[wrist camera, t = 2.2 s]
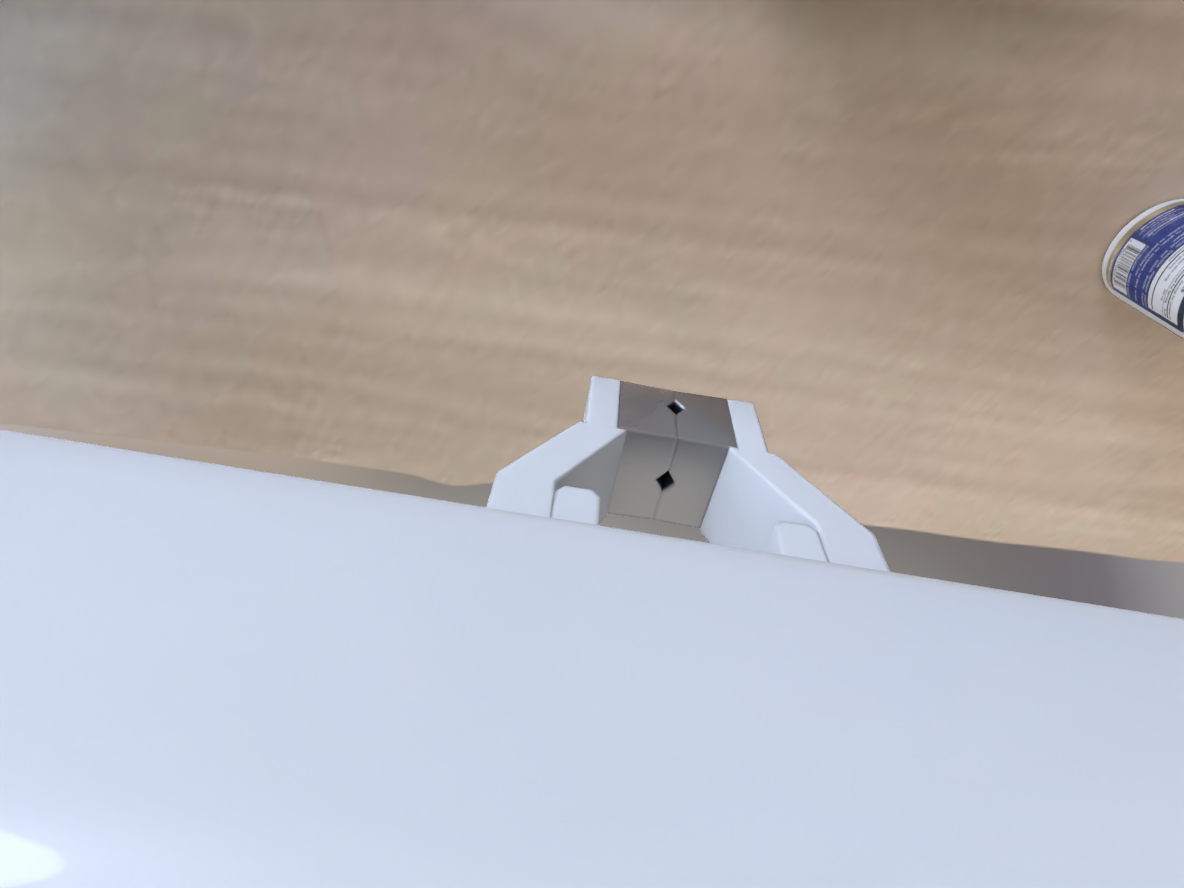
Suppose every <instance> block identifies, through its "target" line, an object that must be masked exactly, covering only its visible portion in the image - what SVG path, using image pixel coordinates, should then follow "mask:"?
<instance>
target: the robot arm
mask: <svg viewBox="0 0 1184 888" xmlns="http://www.w3.org/2000/svg"><path fill="white" fill-rule="evenodd" d="M607 513H608V514H615V515H623V516H630V517H638V518H645V519H654V520H658V521H663V522H669V523H674V524H679V525H685V526H690V527H695V528H700V529H699V531H700V532H701V533H702V535H703V536H704V537H705V539H706V540H707V541H708V543H706V542H700V541H693V540H687V539H681V538H675V537H668V536H662V535H656V534H650V533H643V532H637V531H630V530H625V529H618V528H612V527H606V526H599V524H600V522H601V521H602V520H603V519H604V518H605V517H606V516H607ZM0 888H1184V619H1180V618H1174V617H1168V616H1162V615H1155V614H1149V613H1143V612H1136V611H1131V610H1124V609H1118V608H1112V607H1105V606H1099V605H1093V604H1087V603H1081V602H1074V601H1068V600H1062V599H1056V598H1049V597H1043V596H1037V595H1031V594H1024V593H1018V592H1012V591H1005V590H1000V589H993V588H987V587H981V586H974V585H968V584H962V583H956V582H949V581H943V580H937V579H931V578H924V577H918V576H912V575H905V574H900V573H893V572H890V570H889V567H888V565H887V563H886V560H885V558H884V556H883V553H882V551H881V549H880V547H879V545H878V542H877V540H876V537H875V535H874V534H873V533H871V532H870V531H869V530H868V529H867V528H866V527H864V526H863V525H862V524H861V523H859V522H858V521H857V520H856V519H855V518H853V517H852V516H851V515H850V514H848V513H847V512H846V511H845V510H843V509H842V508H841V507H840V506H839V505H837V504H836V503H835V502H834V501H832V500H831V499H830V498H829V497H828V496H826V495H825V494H824V493H823V492H821V491H820V490H819V489H818V488H817V487H815V486H814V485H813V484H812V483H810V482H809V481H808V480H807V479H805V478H804V477H803V476H802V475H801V474H799V473H798V472H797V471H796V470H794V469H793V468H792V467H791V466H790V465H788V464H787V463H786V462H785V461H783V460H782V459H781V458H780V457H779V456H777V455H774V454H769V453H768V449H767V446H766V443H765V439H764V436H763V432H762V429H761V426H760V422H759V419H758V416H757V412H756V409H755V405H754V404H752V403H751V402H744V401H736V400H728V399H723V398H716V397H710V396H703V395H696V394H689V393H682V392H676V391H672V390H666V389H661V388H656V387H651V386H645V385H640V384H635V383H630V382H624V381H619V380H616V379H610V378H603V377H596V376H592V378H591V383H590V388H589V394H588V399H587V404H586V409H585V415H584V420H583V422H578V423H576V424H574V425H573V426H571V427H570V428H568V429H566V430H565V431H563V432H561V433H560V434H558V435H557V436H555V437H553V438H552V439H550V440H549V441H547V442H545V443H544V444H542V445H540V446H539V447H537V448H536V449H534V450H532V451H531V452H529V453H527V454H526V455H524V456H523V457H521V458H519V459H518V460H516V461H515V462H513V463H511V464H510V465H508V466H506V467H505V468H503V469H502V470H500V471H498V472H497V473H496V477H495V480H494V483H493V487H492V490H491V494H490V497H489V500H488V503H487V507H481V506H475V505H468V504H462V503H456V502H450V501H443V500H437V499H431V498H424V497H418V496H412V495H406V494H400V493H393V492H386V491H381V490H375V489H368V488H361V487H356V486H350V485H343V484H337V483H331V482H325V481H318V480H312V479H306V478H299V477H293V476H287V475H281V474H275V473H268V472H262V471H256V470H250V469H244V468H237V467H231V466H224V465H219V464H212V463H206V462H200V461H194V460H187V459H181V458H175V457H168V456H162V455H156V454H150V453H143V452H138V451H131V450H125V449H119V448H113V447H106V446H100V445H94V444H88V443H81V442H75V441H69V440H62V439H56V438H50V437H44V436H37V435H32V434H25V433H19V432H12V431H7V430H0Z"/></svg>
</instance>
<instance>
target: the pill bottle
mask: <svg viewBox="0 0 1184 888" xmlns="http://www.w3.org/2000/svg"><path fill="white" fill-rule="evenodd" d="M1102 276H1103V280H1104V283H1105V285H1106V287H1107V288H1108V290H1109V291H1110V292H1111V293H1112V294H1114V295H1115V296H1116V297H1118V298H1119V299H1121V300H1122V301H1124V302H1125V303H1127V304H1129V305H1130V306H1132V307H1133V308H1135V309H1136V310H1138V311H1140V312H1141V313H1143V314H1145V315H1146V316H1148V317H1149V318H1151V319H1153V320H1154V321H1156V322H1157V323H1159V324H1161V325H1162V326H1164V327H1165V328H1167V329H1169V330H1170V331H1172V332H1173V333H1175V334H1176V335H1178V336H1180V337H1181V338H1183V339H1184V199H1176V200H1171V201H1168V202H1164V203H1161V204H1159V205H1156V206H1154V207H1152V208H1150V209H1148V210H1147V211H1145V212H1143V213H1142V214H1140V215H1139V216H1137V217H1136V218H1134V219H1133V220H1132V221H1131V222H1129V223H1128V224H1127V225H1126V226H1125V227H1124V228H1123V229H1122V230H1121V231H1120V232H1119V233H1118V234H1117V236H1116V237H1115V238H1114V240H1113V241H1112V243H1111V244H1110V246H1109V248H1108V250H1107V252H1106V254H1105V257H1104V260H1103V264H1102Z"/></svg>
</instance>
